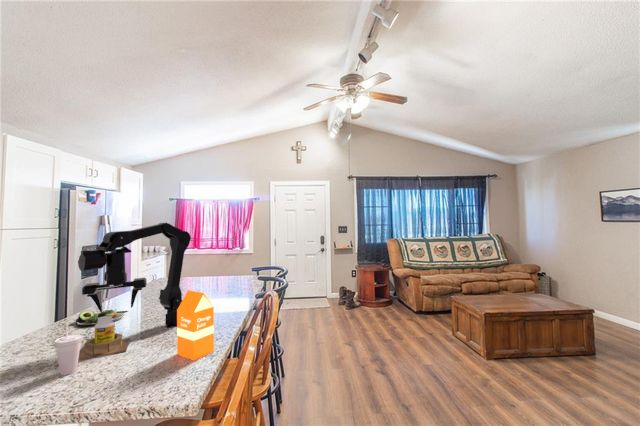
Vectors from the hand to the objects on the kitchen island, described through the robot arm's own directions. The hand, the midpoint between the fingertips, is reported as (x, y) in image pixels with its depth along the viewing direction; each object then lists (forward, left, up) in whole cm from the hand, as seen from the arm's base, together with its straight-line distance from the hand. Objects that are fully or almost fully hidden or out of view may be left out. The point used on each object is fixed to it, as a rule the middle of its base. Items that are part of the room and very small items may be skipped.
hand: (116, 309), depth 107 cm
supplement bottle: (+3, +5, -12) cm, 13 cm away
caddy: (+3, +5, -12) cm, 13 cm away
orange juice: (-25, +23, -12) cm, 36 cm away
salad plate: (+12, -35, -13) cm, 39 cm away
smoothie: (+9, +19, -12) cm, 24 cm away
